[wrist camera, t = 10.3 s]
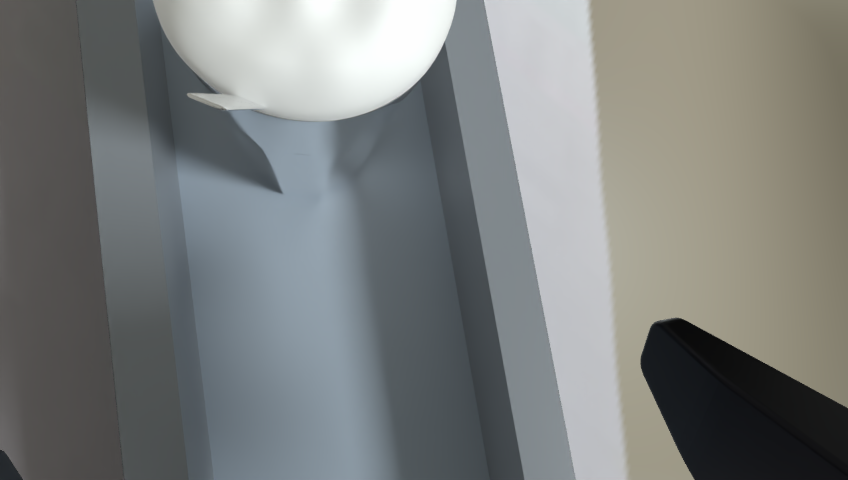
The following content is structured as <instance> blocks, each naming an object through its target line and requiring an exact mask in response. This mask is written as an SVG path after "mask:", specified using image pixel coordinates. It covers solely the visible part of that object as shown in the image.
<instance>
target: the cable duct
mask: <svg viewBox="0 0 848 480" xmlns="http://www.w3.org/2000/svg"><path fill="white" fill-rule="evenodd" d="M76 6H77V16H78V26H79V36H80V46H81V56H82V66H83V76H84V86H85V96H86V106H87V116H88V126H89V136H90V146H91V156H92V166H93V176H94V186H95V196H96V206H97V216H98V226H99V236H100V246H101V256H102V266H103V276H104V286H105V296H106V306H107V316H108V326H109V336H110V345H111V355H112V365H113V375H114V385H115V395H116V405H117V415H118V425H119V435H120V445H121V455H122V465H123V475H124V480H576V479H575V473H574V468H573V463H572V458H571V453H570V447H569V442H568V437H567V432H566V427H565V421H564V416H563V411H562V406H561V401H560V395H559V390H558V385H557V380H556V375H555V369H554V364H553V359H552V354H551V348H550V343H549V338H548V333H547V328H546V322H545V317H544V312H543V307H542V302H541V296H540V291H539V286H538V281H537V276H536V270H535V265H534V260H533V255H532V249H531V244H530V239H529V234H528V229H527V223H526V218H525V213H524V208H523V203H522V197H521V192H520V187H519V182H518V177H517V171H516V166H515V161H514V156H513V151H512V145H511V140H510V135H509V130H508V124H507V119H506V114H505V109H504V104H503V98H502V93H501V88H500V83H499V78H498V72H497V67H496V62H495V57H494V52H493V46H492V41H491V36H490V31H489V26H488V20H487V15H486V10H485V5H484V0H457V1H456V8H455V12H454V17H453V20H452V24H451V27H450V29H449V32H448V35H447V37H446V39H445V42H444V44H443V46H442V48H441V50H440V52H439V54H438V55H437V57H436V59H435V60H434V62H433V63H432V65H431V66H430V68H429V69H428V70H427V72H426V73H425V74H424V76H423V77H422V78H421V80H420V81H419V82H418V84H417V85H416V86H415V88H414V89H413V90H412V92H411V93H410V94H409V96H408V97H407V98H406V100H405V101H404V102H403V104H402V105H401V106H400V108H399V109H398V110H397V112H396V113H395V115H394V116H393V117H392V119H391V120H390V122H389V123H388V125H387V126H386V128H385V129H384V131H383V132H382V134H381V135H380V137H379V139H378V140H377V142H376V143H375V145H374V147H373V148H372V150H371V151H370V153H369V154H368V156H367V158H366V159H365V161H364V162H363V164H362V166H361V167H360V169H359V170H358V172H357V173H356V175H355V176H354V178H353V179H351V180H349V181H348V182H346V183H344V184H342V185H341V186H339V187H337V188H336V189H334V190H332V191H331V192H329V193H327V194H326V195H324V196H322V197H317V196H305V195H292V194H283V193H282V192H281V191H280V190H279V189H277V188H276V187H275V186H274V185H272V184H271V183H270V182H269V181H268V180H266V179H265V178H264V177H263V176H261V175H260V174H259V173H258V172H256V171H255V170H254V169H253V167H252V166H251V164H250V162H249V161H248V159H247V158H246V156H245V154H244V153H243V151H242V149H241V148H240V146H239V144H238V143H237V141H236V139H235V138H234V136H233V134H232V133H231V131H230V129H229V128H228V126H227V124H226V123H225V121H224V119H223V118H222V116H221V114H220V113H219V111H218V109H216V108H213V107H211V106H208V105H206V104H203V103H201V102H198V101H196V100H193V99H191V98H189V97H188V96H187V93H206V92H205V90H204V89H203V87H202V86H201V84H200V83H199V82H198V80H197V79H196V77H195V76H194V75H193V73H192V72H191V70H190V69H189V67H188V66H187V65H186V63H185V62H184V61H183V60H182V59H181V57H180V56H179V55H178V54H177V52H176V51H175V49H174V48H173V46H172V45H171V43H170V42H169V40H168V38H167V37H166V35H165V33H164V31H163V28H162V26H161V24H160V21H159V19H158V16H157V13H156V10H155V7H154V3H153V0H76Z"/></svg>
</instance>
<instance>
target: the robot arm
mask: <svg viewBox="0 0 848 480" xmlns="http://www.w3.org/2000/svg"><path fill="white" fill-rule="evenodd" d="M641 369H642V372H643V375H644V377H645V379H646V381H647V383H648V386H649V388H650V390H651V392H652V394H653V396H654V399H655V401H656V403H657V405H658V407H659V409H660V411H661V414H662V416H663V418H664V420H665V422H666V424H667V426H668V429H669V431H670V433H671V435H672V437H673V440H674V442H675V444H676V446H677V448H678V450H679V452H680V454H681V456H682V458H683V460H684V462H685V464H686V465H687V467H688V469H689V471H690V472H691V474H692V476H693V478H694V479H695V480H848V408H847V407H845V406H843V405H841V404H839V403H837V402H835V401H834V400H832V399H830V398H828V397H826V396H824V395H822V394H820V393H819V392H817V391H815V390H813V389H811V388H810V387H808V386H806V385H804V384H802V383H800V382H798V381H797V380H795V379H793V378H791V377H789V376H787V375H786V374H784V373H782V372H780V371H778V370H776V369H774V368H773V367H771V366H769V365H767V364H765V363H763V362H761V361H760V360H758V359H756V358H754V357H752V356H750V355H749V354H746V353H745V352H743V351H741V350H739V349H737V348H735V347H734V346H732V345H730V344H728V343H726V342H725V341H722V340H721V339H719V338H717V337H715V336H713V335H712V334H709V333H708V332H706V331H704V330H702V329H700V328H698V327H697V326H695V325H693V324H691V323H689V322H688V321H685V320H683V319H681V318H671V319H666V320H660V321H657V322H655V323H654V324H652V326H651V328H650V331H649V333H648V336H647V340H646V343H645V346H644V349H643V352H642V355H641ZM0 480H23V479H22V477H21V476H20V474H19V473H18V471H17V470H16V468H15V467H14V465H13V464H12V462H11V461H10V459H9V457H8V456H7V455H6V453H5V452H4V451H2V450H0Z"/></svg>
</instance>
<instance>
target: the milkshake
mask: <svg viewBox="0 0 848 480" xmlns="http://www.w3.org/2000/svg"><path fill="white" fill-rule="evenodd" d="M456 1H457V0H153V3H154V7H155V10H156V13H157V16H158V19H159V21H160V24H161V26H162V28H163V31H164V33H165V35H166V37H167V38H168V40H169V42H170V43H171V45H172V46H173V48H174V49H175V51H176V52H177V54H178V55H179V56H180V57H181V59H182V60H183V61H184V62H185V63H186V65H187V66H188V67H189V69H190V70H191V72H192V73H193V75H194V76H195V77H196V79H197V80H198V82H199V83H200V84H201V86H202V87H203V89H204V90H205V92H206V93H187V96H188V97H189V98H191V99H193V100H196V101H198V102H201V103H203V104H206V105H208V106H211V107H213V108H216V109H218V111H219V113H220V114H221V116H222V118H223V119H224V121H225V123H226V124H227V126H228V128H229V129H230V131H231V133H232V134H233V136H234V138H235V139H236V141H237V143H238V144H239V146H240V148H241V149H242V151H243V153H244V154H245V156H246V158H247V159H248V161H249V162H250V164H251V166H252V167H253V169H254V170H255V171H256V172H258V173H259V174H260V175H261V176H263V177H264V178H265V179H266V180H268V181H269V182H270V183H271V184H272V185H274V186H275V187H276V188H277V189H279V190H280V191H281V192H282V193H283V194H292V195H305V196H317V197H322V196H324V195H326V194H327V193H329V192H331V191H332V190H334V189H336V188H337V187H339V186H341V185H342V184H344V183H346V182H348V181H349V180H351V179H353V178H354V176H355V175H356V173H357V172H358V170H359V169H360V167H361V166H362V164H363V162H364V161H365V159H366V158H367V156H368V154H369V153H370V151H371V150H372V148H373V147H374V145H375V143H376V142H377V140H378V139H379V137H380V135H381V134H382V132H383V131H384V129H385V128H386V126H387V125H388V123H389V122H390V120H391V119H392V117H393V116H394V115H395V113H396V112H397V110H398V109H399V108H400V106H401V105H402V104H403V102H404V101H405V100H406V98H407V97H408V96H409V94H410V93H411V92H412V90H413V89H414V88H415V86H416V85H417V84H418V82H419V81H420V80H421V78H422V77H423V76H424V74H425V73H426V72H427V70H428V69H429V68H430V66H431V65H432V63H433V62H434V60H435V59H436V57H437V55H438V54H439V52H440V50H441V48H442V46H443V44H444V42H445V39H446V37H447V35H448V32H449V29H450V27H451V24H452V20H453V17H454V12H455V8H456Z"/></svg>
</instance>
